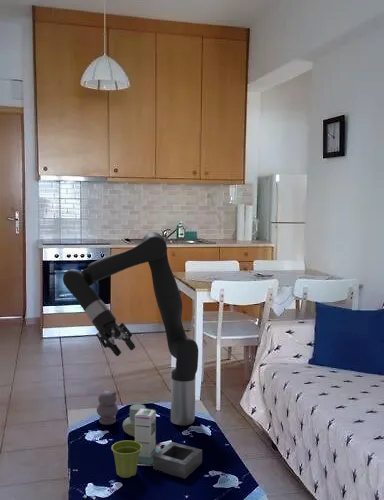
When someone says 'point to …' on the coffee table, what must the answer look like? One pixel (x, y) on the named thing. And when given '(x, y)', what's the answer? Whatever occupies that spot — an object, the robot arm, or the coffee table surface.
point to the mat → (148, 460)
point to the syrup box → (146, 431)
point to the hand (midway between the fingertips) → (126, 351)
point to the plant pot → (126, 457)
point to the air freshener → (132, 419)
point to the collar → (177, 459)
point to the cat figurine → (107, 407)
